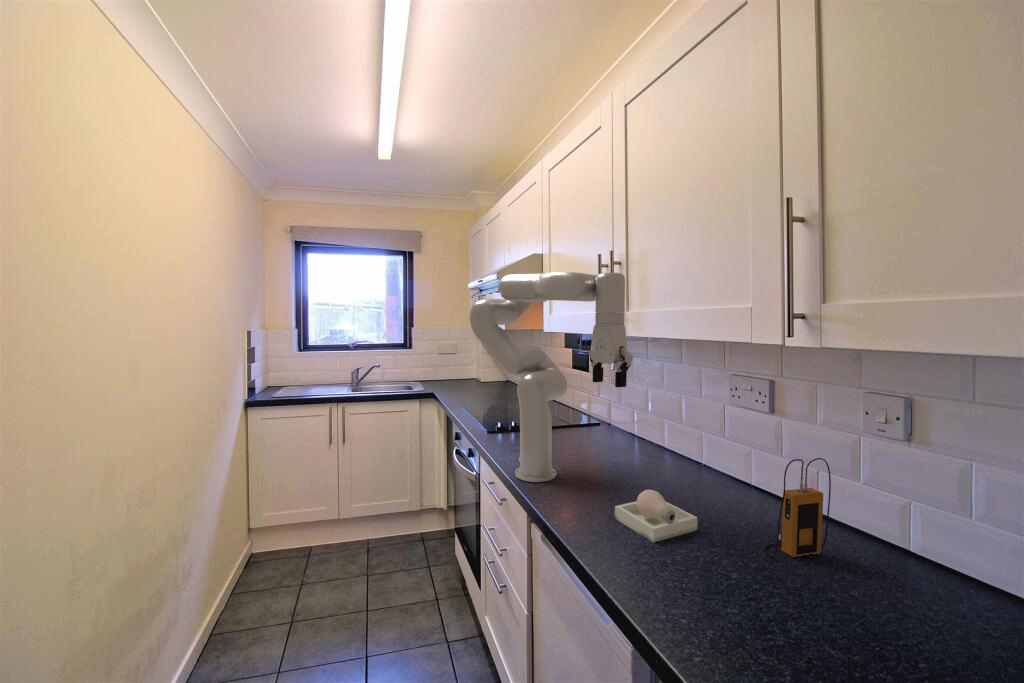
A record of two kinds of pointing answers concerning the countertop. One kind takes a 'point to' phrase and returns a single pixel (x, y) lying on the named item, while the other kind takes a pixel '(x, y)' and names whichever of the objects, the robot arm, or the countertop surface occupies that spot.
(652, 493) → the light bulb
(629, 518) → the tray
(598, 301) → the robot arm
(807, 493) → the multimeter
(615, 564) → the countertop surface
